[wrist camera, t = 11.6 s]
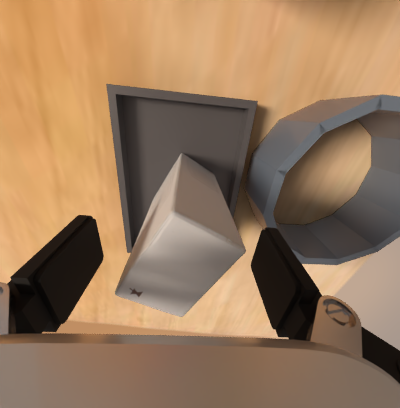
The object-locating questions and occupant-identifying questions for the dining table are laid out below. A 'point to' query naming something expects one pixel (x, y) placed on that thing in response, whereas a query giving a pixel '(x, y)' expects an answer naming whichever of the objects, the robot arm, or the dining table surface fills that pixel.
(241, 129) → the tray
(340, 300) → the robot arm
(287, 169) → the grey faceted ring
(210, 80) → the dining table surface
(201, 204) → the skincare box
